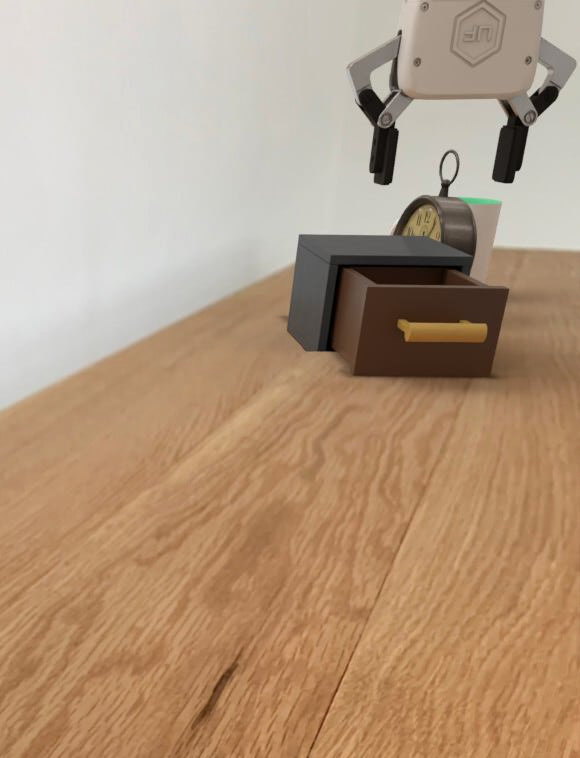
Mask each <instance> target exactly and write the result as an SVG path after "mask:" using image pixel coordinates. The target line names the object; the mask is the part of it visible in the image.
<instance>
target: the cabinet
mask: <svg viewBox="0 0 580 758" xmlns="http://www.w3.org/2000/svg"><path fill="white" fill-rule="evenodd" d="M472 262H473V256H471V255H469V254H466V253H464V252H462V251H459V250H457V249H455V248H452V247H450V246H448V245H446V244H443V243H441V242H439V241H436V240H434V239H432V238H429V237H427V236H399V235H389V234H386V235H385V234H383V235H382V234H312V233H311V234H309V233H308V234H306V233H304V234H303V233H302V234H301V233H299V234H298V239H297V247H296V254H295V261H294V269H293V277H292V286H291V287H292V288H291V294H290V302H289V310H288V320H287V326H286V331H287V332H288V333H289V334H290V335H291V336H292V337H293V338H294V340H295V341H297V343H298V344H299V345H300V346H301V347H302V348H303V349H304V350H305V351H306V352H312V353H313V352H318V353H319V352H323V353H324V352H325V353H326V352H327V353H337V352H336V351H335V350H334V349H333V348H332V347H331V346H330V345H329V344H328V343H327V340H328V335H329V327H330V320H331V313H332V306H333V299H334V292H335V286H336V279H337V272H338V266H339V265H380V266H449V267H451V268H453V269H455V270H457V271H459V272H461V273H463V274H465V275H468V276H470V272H471V266H472Z"/></svg>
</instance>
